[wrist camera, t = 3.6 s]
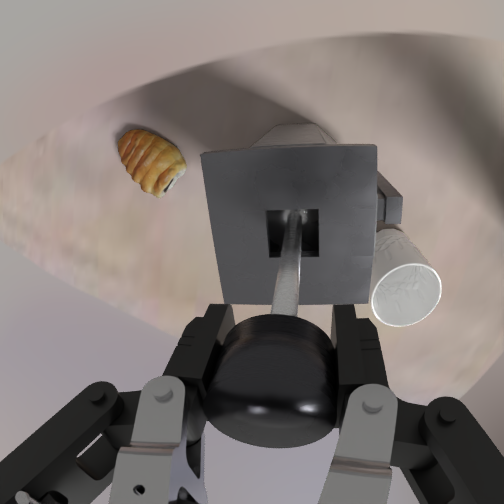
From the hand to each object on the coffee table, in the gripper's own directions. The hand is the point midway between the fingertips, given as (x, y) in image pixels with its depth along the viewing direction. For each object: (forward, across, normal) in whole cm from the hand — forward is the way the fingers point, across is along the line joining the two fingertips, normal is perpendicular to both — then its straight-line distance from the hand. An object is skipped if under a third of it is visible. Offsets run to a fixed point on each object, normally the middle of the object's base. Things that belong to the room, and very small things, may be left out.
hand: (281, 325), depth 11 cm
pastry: (+27, +17, -2) cm, 32 cm away
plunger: (+11, 0, 0) cm, 11 cm away
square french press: (+27, -1, 0) cm, 27 cm away
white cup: (+27, -11, +11) cm, 31 cm away
